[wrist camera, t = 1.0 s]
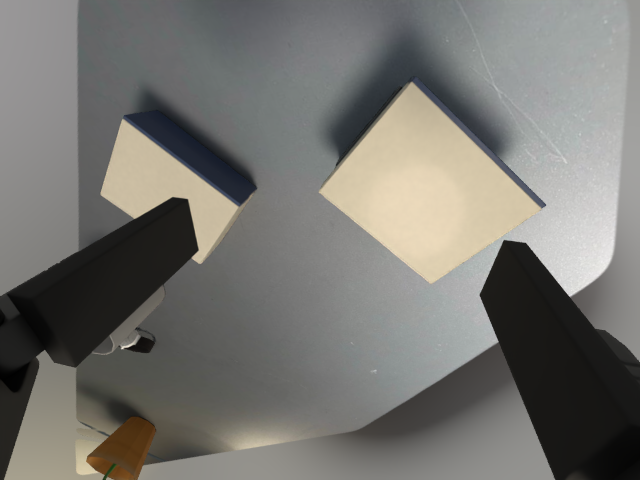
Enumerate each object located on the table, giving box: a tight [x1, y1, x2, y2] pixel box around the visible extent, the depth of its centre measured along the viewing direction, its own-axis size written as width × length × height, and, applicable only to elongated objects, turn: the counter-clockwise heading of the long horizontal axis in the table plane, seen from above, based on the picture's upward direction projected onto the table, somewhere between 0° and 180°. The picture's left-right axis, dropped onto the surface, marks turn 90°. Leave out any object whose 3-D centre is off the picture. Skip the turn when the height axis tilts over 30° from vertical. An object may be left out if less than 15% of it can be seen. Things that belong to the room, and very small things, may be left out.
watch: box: [119, 330, 155, 353], centre depth 52 cm, size 8×5×4 cm, turn 90°
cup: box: [92, 285, 165, 355], centre depth 41 cm, size 8×8×10 cm
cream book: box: [319, 76, 546, 284], centre depth 23 cm, size 10×13×2 cm
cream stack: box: [100, 110, 257, 264], centre depth 32 cm, size 10×13×5 cm
